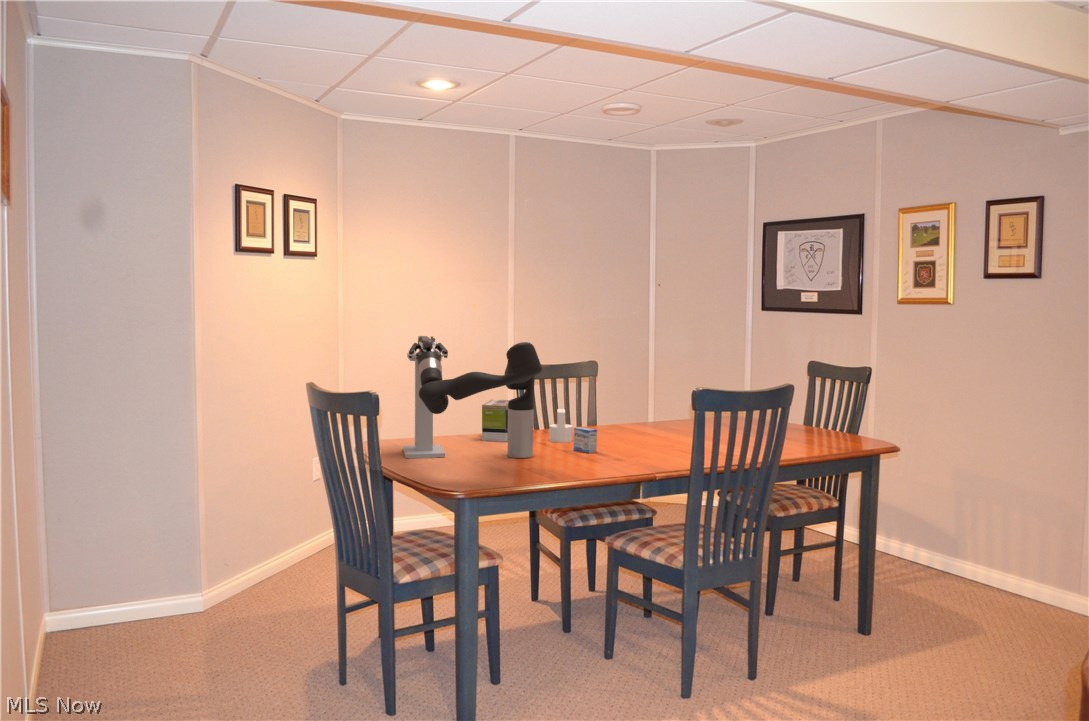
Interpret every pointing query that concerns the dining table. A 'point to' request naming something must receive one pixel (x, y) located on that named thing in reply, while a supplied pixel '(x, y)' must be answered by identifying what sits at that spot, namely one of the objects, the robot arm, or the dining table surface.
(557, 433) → the cylinder with rectangular tab
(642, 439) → the dining table surface
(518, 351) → the robot arm
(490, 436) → the tea box
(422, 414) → the pedestal
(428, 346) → the dark cylinder
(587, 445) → the medicine box
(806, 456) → the dining table surface
